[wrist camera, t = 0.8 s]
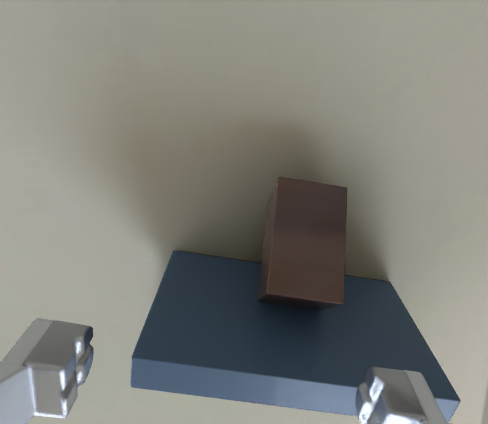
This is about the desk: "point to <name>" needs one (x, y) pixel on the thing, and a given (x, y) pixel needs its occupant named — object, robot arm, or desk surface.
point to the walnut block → (304, 245)
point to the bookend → (275, 340)
